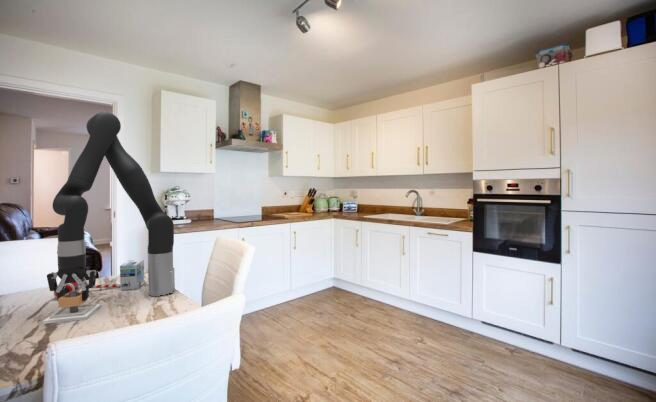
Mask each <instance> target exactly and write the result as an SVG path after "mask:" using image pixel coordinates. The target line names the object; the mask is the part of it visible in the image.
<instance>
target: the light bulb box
mask: <svg viewBox="0 0 656 402" xmlns="http://www.w3.org/2000/svg"><path fill="white" fill-rule="evenodd" d="M119 279H120V280H119V281H120V283H119V284H121V287H120V291H130V289H132V290H138V289H139V288H140V287H141V286H142V285H143V284H144V283H145V260H144V259H136V260H135V259H134V260H133V259H132V260H131V259H129V260H126V261H125V262H124V263H122V264H120V265H119ZM143 282H144V283H143ZM142 283H143V284H142ZM141 284H142V285H141Z"/></svg>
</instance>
